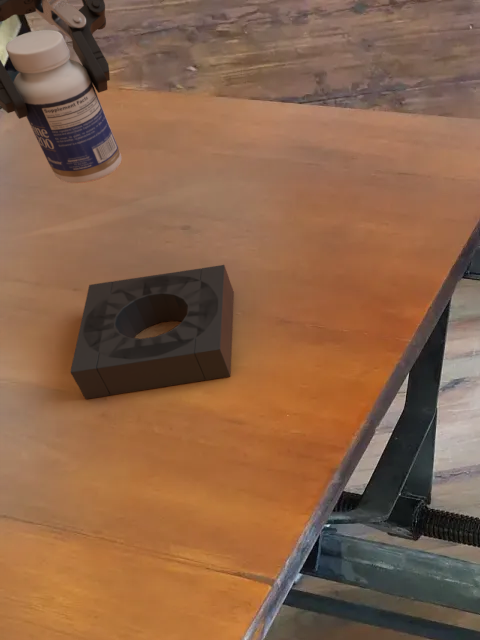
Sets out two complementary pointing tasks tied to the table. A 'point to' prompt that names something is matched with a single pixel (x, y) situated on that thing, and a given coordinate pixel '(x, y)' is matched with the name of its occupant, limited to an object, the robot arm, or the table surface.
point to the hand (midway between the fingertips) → (63, 98)
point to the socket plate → (163, 350)
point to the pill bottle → (63, 108)
